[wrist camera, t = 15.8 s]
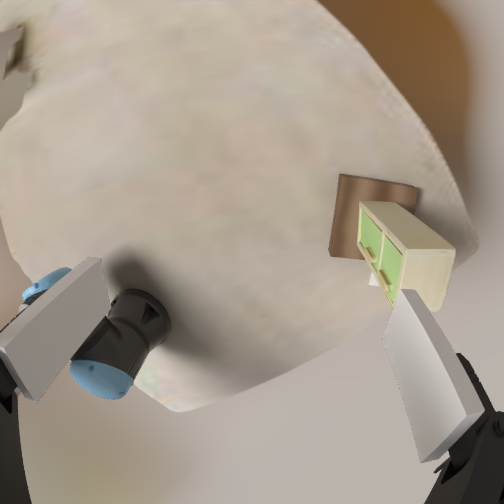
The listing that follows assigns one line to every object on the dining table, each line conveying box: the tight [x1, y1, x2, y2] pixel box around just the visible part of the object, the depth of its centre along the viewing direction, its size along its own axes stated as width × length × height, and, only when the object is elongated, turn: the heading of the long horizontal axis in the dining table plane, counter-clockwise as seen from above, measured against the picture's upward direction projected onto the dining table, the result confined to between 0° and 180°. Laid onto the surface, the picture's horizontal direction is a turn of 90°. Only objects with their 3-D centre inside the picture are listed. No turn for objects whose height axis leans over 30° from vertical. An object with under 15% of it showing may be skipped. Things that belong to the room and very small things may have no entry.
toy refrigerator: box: [357, 201, 456, 312], centre depth 36 cm, size 8×7×21 cm
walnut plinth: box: [328, 174, 418, 260], centre depth 47 cm, size 14×14×3 cm
